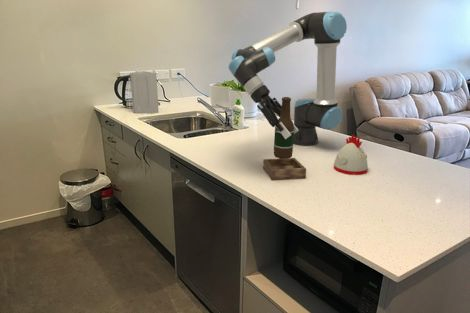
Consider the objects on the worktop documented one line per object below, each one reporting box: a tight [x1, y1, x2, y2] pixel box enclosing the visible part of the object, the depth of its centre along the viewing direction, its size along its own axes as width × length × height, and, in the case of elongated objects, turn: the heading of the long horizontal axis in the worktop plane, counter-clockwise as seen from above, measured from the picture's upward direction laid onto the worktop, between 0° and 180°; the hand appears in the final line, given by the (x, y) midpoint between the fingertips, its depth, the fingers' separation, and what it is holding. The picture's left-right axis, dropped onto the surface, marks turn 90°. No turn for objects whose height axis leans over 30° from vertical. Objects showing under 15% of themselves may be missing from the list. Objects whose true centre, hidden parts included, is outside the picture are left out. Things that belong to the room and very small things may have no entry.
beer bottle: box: [273, 96, 294, 159], centre depth 144 cm, size 8×8×24 cm
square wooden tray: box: [262, 157, 307, 181], centre depth 150 cm, size 14×14×4 cm
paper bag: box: [129, 70, 160, 115], centre depth 260 cm, size 19×15×28 cm
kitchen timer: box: [333, 134, 369, 176], centre depth 154 cm, size 14×14×15 cm
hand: (292, 134), depth 143 cm, fingers closed on beer bottle, 8 cm apart
